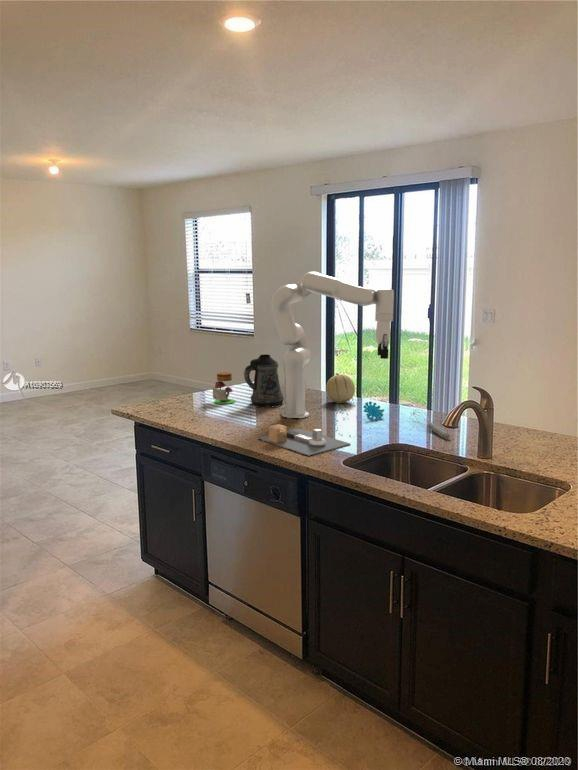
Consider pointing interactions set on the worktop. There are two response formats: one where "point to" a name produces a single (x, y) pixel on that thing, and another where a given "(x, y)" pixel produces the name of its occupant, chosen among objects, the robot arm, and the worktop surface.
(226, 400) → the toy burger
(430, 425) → the kitchen whisk
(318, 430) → the ratchet
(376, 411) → the teal virus model
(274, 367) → the beer stein
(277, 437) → the wooden block
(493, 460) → the worktop surface
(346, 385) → the cantaloupe
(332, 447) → the mat
